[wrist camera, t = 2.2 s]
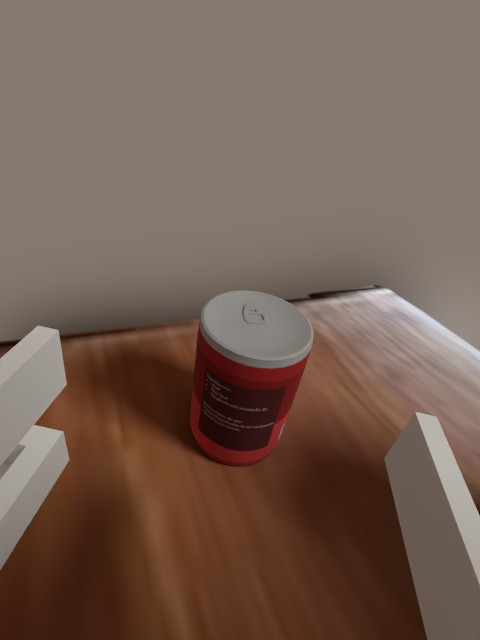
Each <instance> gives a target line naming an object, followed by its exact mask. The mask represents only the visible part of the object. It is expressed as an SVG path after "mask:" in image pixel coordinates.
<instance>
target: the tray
mask: <svg viewBox="0 0 480 640" xmlns="http://www.w3.org/2000/svg"><path fill="white" fill-rule="evenodd" d="M68 462H69V456H68V451H67V447H66V442H65V437H64V433H63V431H58V430H54V429H50V428H45V427H41V426H36V425H33V426H32V428H31V429H30V430H29V431H28V433H27V434H26V435H25V436H24V438H23V439H22V440H21V441H20V442H19V444H18V445H17V446H16V447H15V449H14V450H13V451H12V452H11V454H10V455H9V456H8V457H7V458H6V460H5V461H4V462H3V463H2V465H1V466H0V570H1V568H2V567H3V565H4V564H5V562H6V560H7V559H8V557H9V556H10V554H11V552H12V551H13V549H14V548H15V546H16V544H17V543H18V541H19V540H20V538H21V537H22V535H23V533H24V532H25V530H26V529H27V527H28V525H29V524H30V522H31V521H32V519H33V517H34V516H35V514H36V513H37V511H38V509H39V508H40V506H41V505H42V503H43V501H44V500H45V498H46V497H47V495H48V494H49V492H50V490H51V489H52V487H53V486H54V484H55V482H56V481H57V479H58V478H59V476H60V474H61V473H62V471H63V470H64V468H65V466H66V465H67V463H68Z"/></svg>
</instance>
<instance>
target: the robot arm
mask: <svg viewBox="0 0 480 640" xmlns="http://www.w3.org/2000/svg"><path fill="white" fill-rule="evenodd" d="M66 385H67V383H66V377H65V370H64V363H63V357H62V350H61V344H60V337H59V331H58V330H54V329H51V328H46V327H42V326H37V327H36V328H35V329H34V330H33V331H32V332H30V333H29V334H28V335H27V336H26V337H25V338H24V339H22V340H21V341H20V342H19V343H18V344H17V345H15V346H14V347H13V348H12V349H11V350H10V351H9V352H7V353H6V354H5V355H4V356H3V357H2V358H1V359H0V466H1V465H2V463H3V462H4V461H5V460H6V458H7V457H8V456H9V455H10V454H11V452H12V451H13V450H14V449H15V447H16V446H17V445H18V444H19V442H20V441H21V440H22V439H23V438H24V436H25V435H26V434H27V433H28V431H29V430H30V429H31V428H32V426H33V425H34V424H35V423H36V422H37V420H38V419H39V418H40V417H41V415H42V414H43V413H44V412H45V410H46V409H47V408H48V407H49V406H50V404H51V403H52V402H53V401H54V399H55V398H56V397H57V396H58V394H59V393H60V392H61V391H62V390H63V388H64V387H65V386H66ZM384 460H385V464H386V468H387V472H388V477H389V481H390V485H391V489H392V493H393V498H394V502H395V506H396V510H397V514H398V519H399V523H400V527H401V531H402V535H403V540H404V544H405V548H406V552H407V556H408V561H409V565H410V569H411V573H412V577H413V582H414V586H415V590H416V594H417V598H418V603H419V607H420V611H421V615H422V619H423V624H424V628H425V632H426V636H427V640H480V515H479V513H478V511H477V508H476V506H475V504H474V502H473V499H472V497H471V495H470V492H469V490H468V488H467V485H466V483H465V481H464V479H463V476H462V474H461V472H460V469H459V467H458V465H457V462H456V460H455V458H454V455H453V453H452V451H451V449H450V446H449V444H448V442H447V439H446V437H445V435H444V432H443V430H442V428H441V426H440V423H439V421H438V419H437V417H436V416H431V415H427V414H422V413H418V412H415V413H414V414H413V416H412V417H411V419H410V420H409V422H408V423H407V425H406V426H405V428H404V429H403V431H402V432H401V434H400V435H399V437H398V438H397V440H396V441H395V443H394V444H393V446H392V447H391V449H390V450H389V452H388V453H387V455H386V456H385V458H384Z"/></svg>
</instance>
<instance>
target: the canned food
mask: <svg viewBox="0 0 480 640" xmlns="http://www.w3.org/2000/svg"><path fill="white" fill-rule="evenodd" d="M313 336H314V333H313V328H312V325H311V323H310V321H309V320H308V319H307V317H306V316H305V315H304V314H303V313H302V312H301V311H300V310H299V309H298V308H296V307H295V306H293V305H292V304H290V303H288V302H287V301H285V300H283V299H280V298H278V297H275V296H273V295H269V294H266V293H261V292H255V291H231V292H226V293H223V294H219V295H217V296H215V297H214V298H212V299H211V300H209V301H208V302H207V303H206V304H205V306H204V307H203V310H202V313H201V318H200V322H199V331H198V338H197V348H196V359H195V369H194V379H193V389H192V399H191V410H190V425H191V430H192V433H193V435H194V438H195V440H196V442H197V444H198V445H199V447H200V448H201V449H202V450H203V451H204V452H205V453H206V454H207V455H208V456H209V457H211V458H212V459H214V460H216V461H218V462H220V463H223V464H226V465H231V466H247V465H252V464H255V463H257V462H259V461H261V460H262V459H264V458H265V457H267V456H268V455H269V454H270V453H271V452H272V450H273V449H274V448H275V447H276V445H277V443H278V441H279V439H280V437H281V434H282V431H283V428H284V425H285V422H286V420H287V417H288V414H289V411H290V408H291V405H292V403H293V400H294V397H295V394H296V391H297V388H298V386H299V383H300V380H301V377H302V374H303V371H304V369H305V366H306V363H307V360H308V356H309V353H310V350H311V347H312V342H313Z"/></svg>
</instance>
